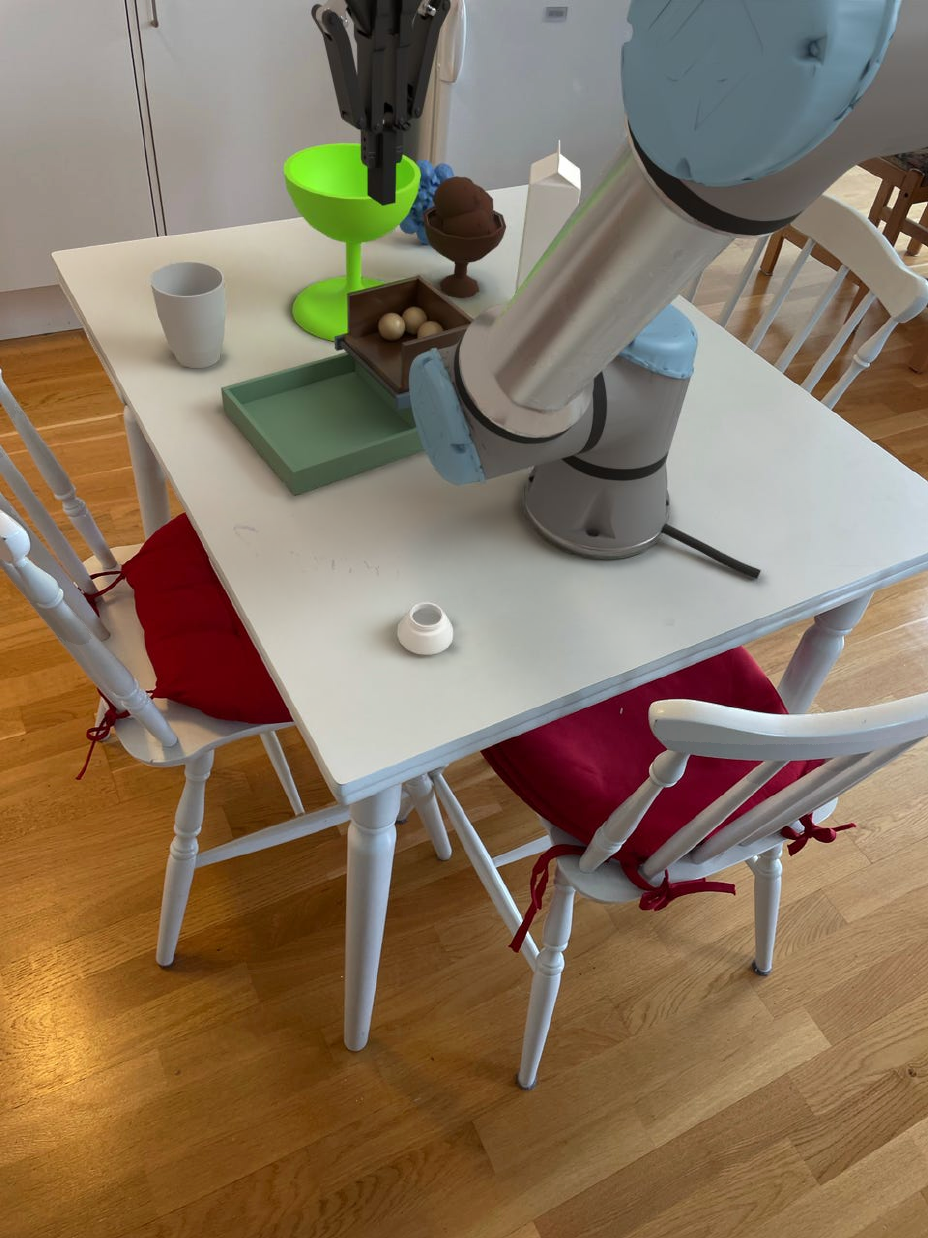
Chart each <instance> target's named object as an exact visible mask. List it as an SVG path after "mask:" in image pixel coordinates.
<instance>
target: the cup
mask: <svg viewBox="0 0 928 1238" xmlns="http://www.w3.org/2000/svg"><path fill="white" fill-rule="evenodd" d="M149 283H150V287H151V292H152V296H153V300H154V305H155V308H156V313H157V316H158V319H159V322H160V325H161V328H162V330H163V333H164V336H165V338H166V341H167V344H168V346H169V348H170V350H171V351H172V353H173V355H174V357H175V359H176V361H177V362H178V364H180V365H181V366H183V367H185V368H190V369H205V368H209V367H212V366H213V365H215V364H217V362H218V361H219V360H220V357H221V353H222V349H223V346H224V340H225V331H226V329H225V328H226V315H227V307H226V306H227V305H226V287H225V286H226V283H225V275H224V273H223V272H222V271H221V270H220V268H217V267H216V266H214V265H211V264H208V263H206V262H200V261H178V262H173V263H172V262H171V263H169V264H165V265H162V266H160V267H158V268H157V269H156V270H154V271H153V272H152V273H151V275H150V277H149Z"/></svg>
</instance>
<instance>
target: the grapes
mask: <svg viewBox="0 0 928 1238" xmlns="http://www.w3.org/2000/svg"><path fill="white" fill-rule="evenodd" d="M415 164H416V165H417V166H418V167H419V169H420V174H421V177H420V183H419V189H418V194H417V196H416V199H415V201H414V203H413V205H412V207H411V209H410V212H409V214H408V215H407V216H406V218H405V219H404V220H403V221H402V222H401V223H400V224H399V225H398V226H399V228H400V230H401V231H402V232H403V233H404V234H405V235H414V234H416V237H417V240H418V241H419V242H420V243H422V244H425V245H430V243H429V241H428V238H427V236H426V231H425V225H424V219H423V213H424V212H425V211H427V210H428V209H430V208H431V207H433V206H434V202H433V197H434V193H435V191H436V189H437V188H438V186H439V184H440V183H442V182H443V181H444V180H446V179H448V178H452V177H455V173H454V170H453V168H452V167H451V166H450V165H449V164H447V163H443V162H441V163H439V164H437V165H436V166H435V167H434V165H433V163H432V162H430V160H428V159H423V158H421V159H419V160H417V161H416V162H415Z"/></svg>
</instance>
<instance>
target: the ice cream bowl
mask: <svg viewBox="0 0 928 1238" xmlns="http://www.w3.org/2000/svg"><path fill="white" fill-rule="evenodd" d="M433 202H434V206H433V207H431V208H430V209H428V210H427V211H425V212H424V213H423V219H424V225H425V231H426V236H427V238H428V241H429V243H430V244H429V245H430V246H431V247H432V248H433V249H434V250H435V251H436V252H437V253H438V254H439V255H441V256H443V257H444V258H446V259H447V260H449V261H451V262H453V263H454V270H453V273H452V274H450V275H446V276H445V277H444V278H442V279H441V280H440V282H439V289H440V292H441V293H444V294H446V295H447V296H449V297H454V298H460V299H462V298H463V299H464V298H469V297H474V296H475V295H476V294H477V293H478V292H480V289H479V284H478V281H477V280H476V279H474V278H472V277H471V276H469V275H468V265H469V264H470V263H474V262H475V263H476V262H479V261H481V260H483V258H485V257H486V256H487V255H488V254H490V253H491V252H492V251H493V250H495V249H496V248H498V246H499V245H500V244H501V242H502V240H503V239H504V236H505V232H506V229H507V224H506V221H505V218H504V215H503V214H501V213H500V212H498V211H496V210H494V198H493V197H492V196H491V195H490V194H489V193H488V191H486V190H485V189H484V188H483V187H482V186H480V185H478V184H475V183H474V181H473V180H472V179H471V178H469V177H467V176H457V175H456V176H455V175H454V177H452V178H448V179H446V180H444V181H443V182H442V183H440V184H439V186H438V188H437V189H436V191H435V193H434V197H433Z"/></svg>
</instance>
